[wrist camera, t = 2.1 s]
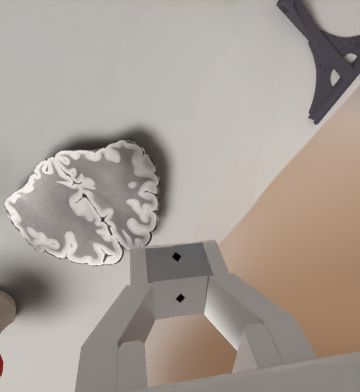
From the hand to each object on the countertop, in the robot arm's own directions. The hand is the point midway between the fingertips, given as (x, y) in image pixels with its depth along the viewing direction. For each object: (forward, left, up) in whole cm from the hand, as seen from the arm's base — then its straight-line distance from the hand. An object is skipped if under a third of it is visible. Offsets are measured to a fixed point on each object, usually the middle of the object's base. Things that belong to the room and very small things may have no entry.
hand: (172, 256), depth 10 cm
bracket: (+23, +11, -29) cm, 39 cm away
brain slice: (-6, -10, -29) cm, 31 cm away
